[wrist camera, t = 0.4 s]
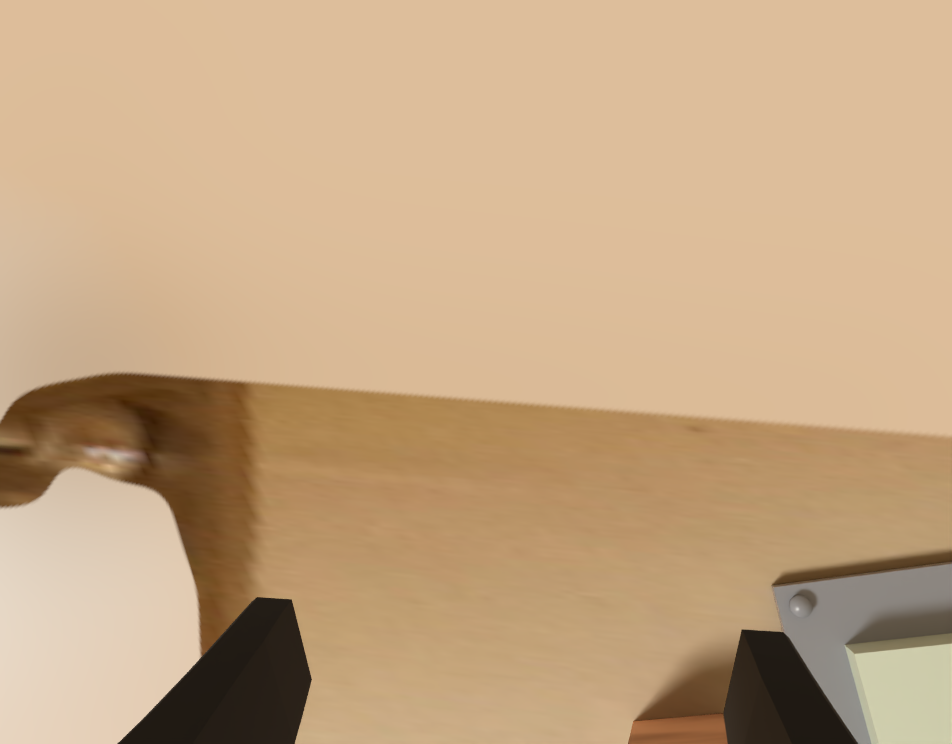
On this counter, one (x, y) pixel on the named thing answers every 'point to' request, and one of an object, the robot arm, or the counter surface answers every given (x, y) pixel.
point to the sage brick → (905, 688)
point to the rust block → (680, 730)
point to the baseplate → (861, 623)
